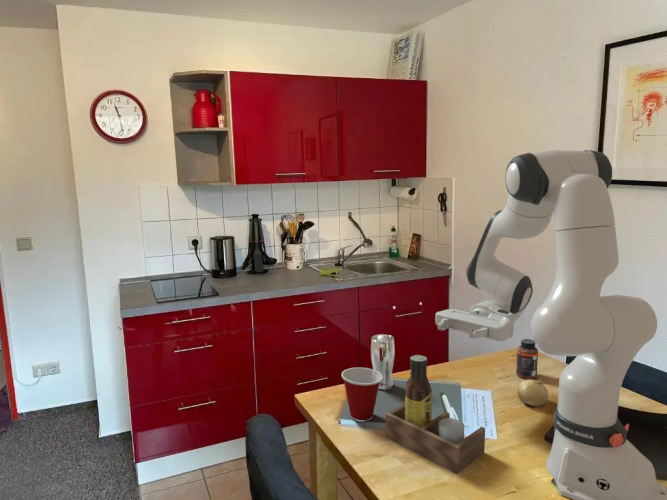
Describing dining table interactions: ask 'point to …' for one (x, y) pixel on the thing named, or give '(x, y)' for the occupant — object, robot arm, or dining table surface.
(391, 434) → the walnut rail
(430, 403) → the sauce bottle
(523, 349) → the supplement bottle
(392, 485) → the dining table surface
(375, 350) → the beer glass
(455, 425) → the grey rounded cylinder
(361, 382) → the plastic cup
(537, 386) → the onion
